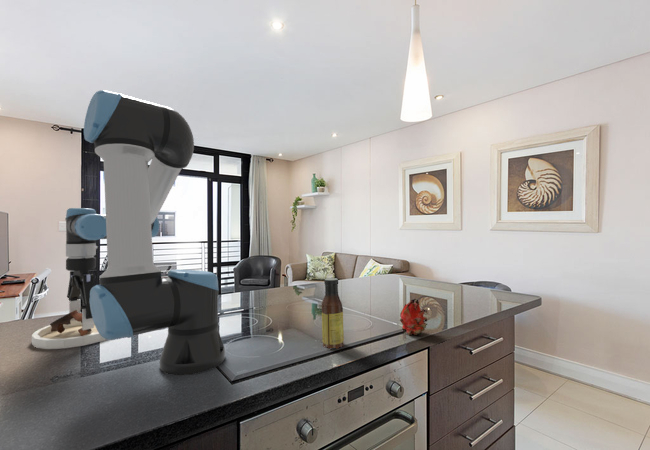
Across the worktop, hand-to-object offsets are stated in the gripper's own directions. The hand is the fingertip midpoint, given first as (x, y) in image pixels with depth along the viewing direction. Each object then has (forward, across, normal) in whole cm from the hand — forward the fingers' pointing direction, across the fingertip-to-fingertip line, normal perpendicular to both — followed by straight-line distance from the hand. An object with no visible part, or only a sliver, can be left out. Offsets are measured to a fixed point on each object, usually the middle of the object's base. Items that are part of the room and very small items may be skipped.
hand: (81, 324), depth 99 cm
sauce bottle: (+4, -68, -42) cm, 80 cm away
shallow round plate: (+3, 0, 0) cm, 3 cm away
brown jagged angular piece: (+4, 0, -1) cm, 4 cm away
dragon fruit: (+4, -83, -65) cm, 106 cm away
